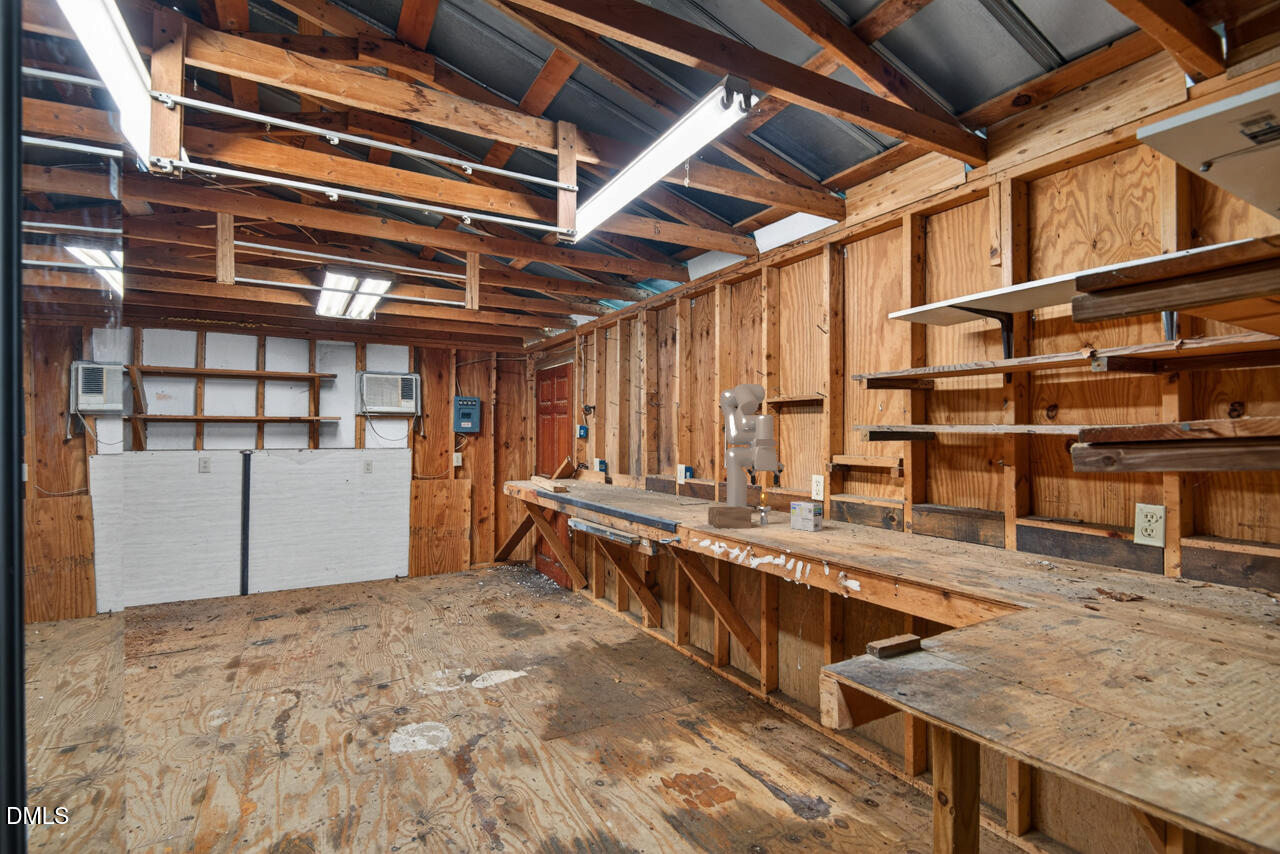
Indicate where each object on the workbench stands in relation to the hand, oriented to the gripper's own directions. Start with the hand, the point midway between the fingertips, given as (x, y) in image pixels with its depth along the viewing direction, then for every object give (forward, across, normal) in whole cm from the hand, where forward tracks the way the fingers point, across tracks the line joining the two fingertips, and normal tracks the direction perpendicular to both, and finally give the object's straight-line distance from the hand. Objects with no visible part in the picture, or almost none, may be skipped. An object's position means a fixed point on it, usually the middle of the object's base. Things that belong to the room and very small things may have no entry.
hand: (764, 485), depth 249 cm
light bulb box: (+17, -12, +14) cm, 25 cm away
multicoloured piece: (+16, 0, -1) cm, 17 cm away
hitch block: (+16, +16, +2) cm, 23 cm away
